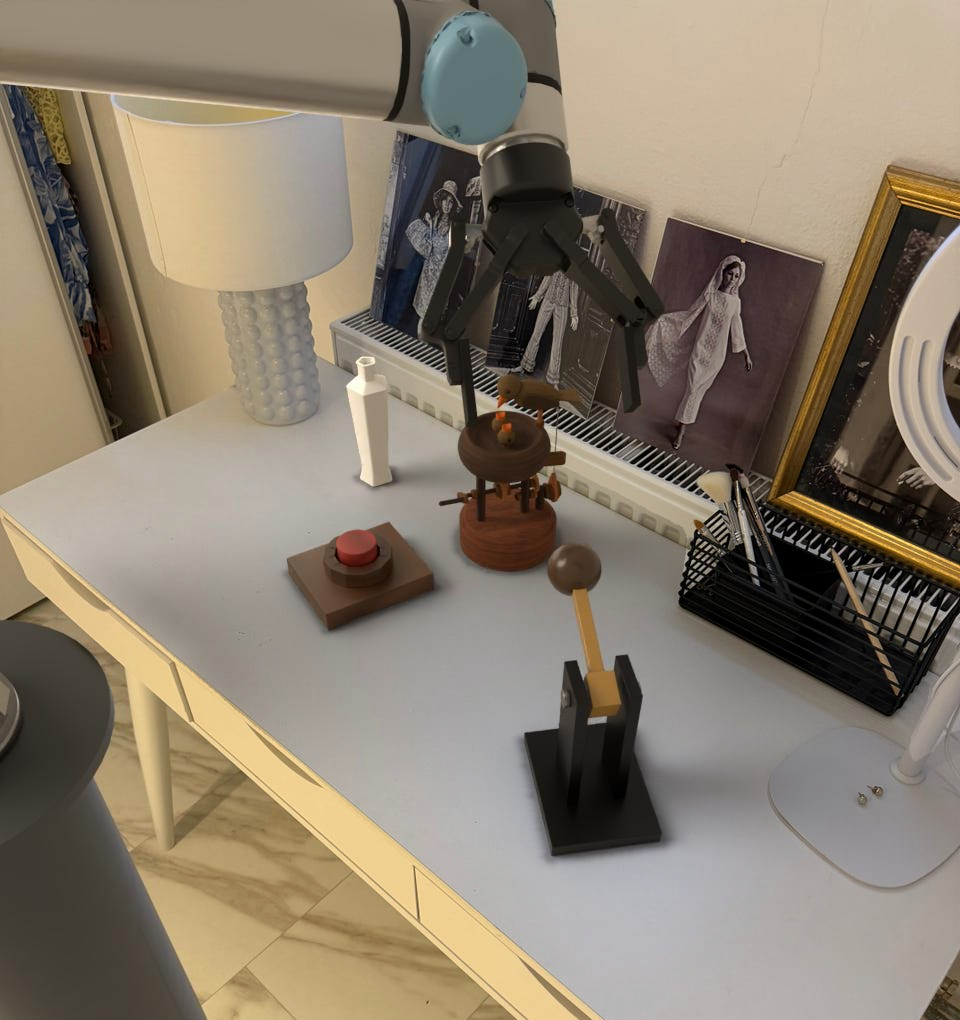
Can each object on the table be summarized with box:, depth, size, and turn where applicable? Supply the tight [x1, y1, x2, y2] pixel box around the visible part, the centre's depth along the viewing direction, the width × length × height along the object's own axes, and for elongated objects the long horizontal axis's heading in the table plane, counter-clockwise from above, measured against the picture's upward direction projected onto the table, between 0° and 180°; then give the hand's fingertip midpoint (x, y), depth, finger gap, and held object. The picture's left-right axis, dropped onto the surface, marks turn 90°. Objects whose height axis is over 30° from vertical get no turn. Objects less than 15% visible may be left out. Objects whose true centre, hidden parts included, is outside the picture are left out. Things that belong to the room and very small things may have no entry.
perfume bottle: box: [346, 356, 393, 487], centre depth 109 cm, size 5×4×15 cm
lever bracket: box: [523, 654, 663, 857], centre depth 77 cm, size 12×9×14 cm
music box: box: [438, 374, 581, 572], centre depth 98 cm, size 15×11×20 cm
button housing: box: [285, 521, 435, 631], centre depth 99 cm, size 12×10×4 cm
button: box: [336, 529, 377, 567], centre depth 98 cm, size 4×4×2 cm
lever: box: [546, 541, 621, 719], centre depth 76 cm, size 15×4×4 cm, turn 9°
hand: (552, 416), depth 80 cm, fingers open, 13 cm apart
